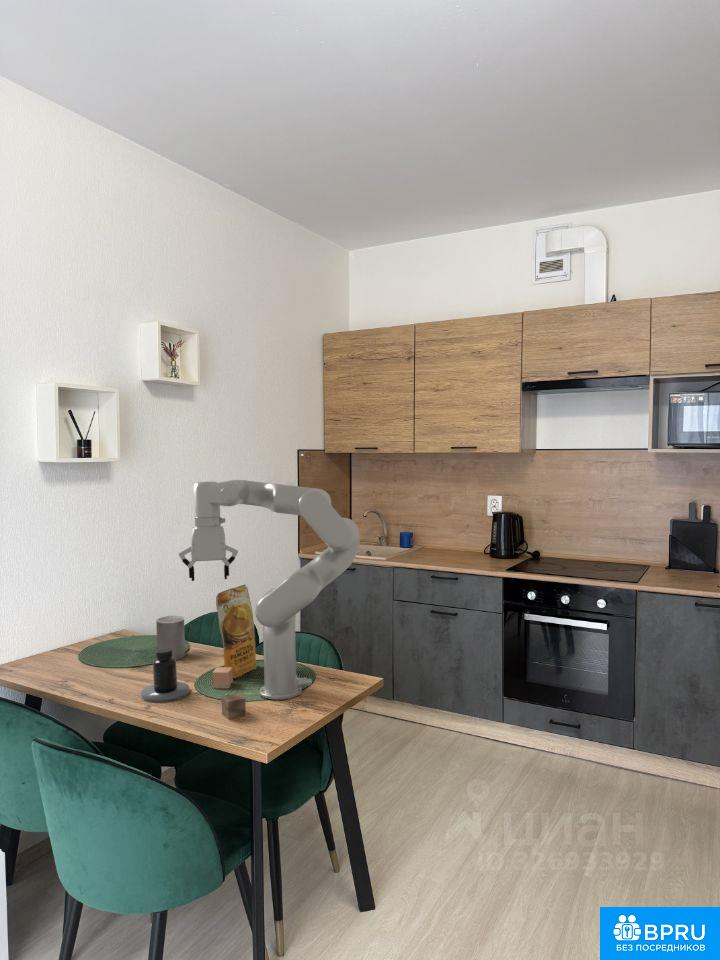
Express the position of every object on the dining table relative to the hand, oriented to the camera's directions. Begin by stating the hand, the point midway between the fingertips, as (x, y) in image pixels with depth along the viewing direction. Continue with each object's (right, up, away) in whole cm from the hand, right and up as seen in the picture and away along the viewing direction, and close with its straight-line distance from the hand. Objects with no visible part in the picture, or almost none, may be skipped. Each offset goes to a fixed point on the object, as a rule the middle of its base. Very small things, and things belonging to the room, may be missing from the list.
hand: (209, 579), depth 205 cm
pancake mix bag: (+5, -34, +19) cm, 39 cm away
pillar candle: (-22, -33, +38) cm, 55 cm away
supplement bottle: (-13, -34, +1) cm, 36 cm away
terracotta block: (+3, -34, +7) cm, 35 cm away
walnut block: (+10, -35, -17) cm, 40 cm away
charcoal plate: (-13, -35, +1) cm, 37 cm away
